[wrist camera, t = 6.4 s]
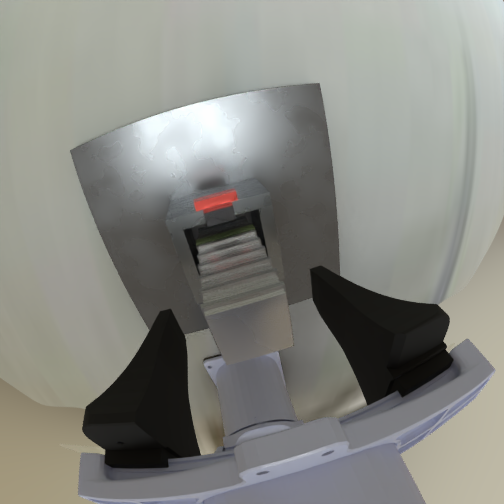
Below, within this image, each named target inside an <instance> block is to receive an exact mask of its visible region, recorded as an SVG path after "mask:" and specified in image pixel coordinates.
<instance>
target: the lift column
mask: <svg viewBox="0 0 504 504" xmlns="http://www.w3.org/2000/svg"><path fill="white" fill-rule="evenodd" d="M196 246H197V250H198V253H199V254H197V257H198V260H199V263H200V264H198V269H199V272H200V274H201V275H200V276H198V277H199V281H200V284H201V287H202V289H199V292H200V295H201V298H202V300H203V303H204V304H200V305H201V310H202V313H203V315H204V317H205V320H206V322H207V324H208V327H209V329H210V331H211V333H212V336H213V338H214V340H215V342H216V345H217V347H218V349H219V351H220V353H221V355H222V358H223V360H224V361H225V363H226V365H230V364H234V363H238V362H242V361H245V360H249V359H253V358H256V357H260V356H263V355H266V354H270V353H273V352H276V351H280V350H283V349H286V348H289V347H292V346H294V342H293V341H294V338H293V332H292V325H291V319H290V312H289V306H288V300H287V294H286V288H285V284H284V282H283V281H281V282H280V281H279V276H278V271H277V269H276V268H273V266H272V261H271V258H270V256H267V254H266V249H265V247H264V246H262V245H261V240H260V238H259V237H258V238H257V233H256V230H255V227H254V226H253V224H252V223H249V222H248V220H247V218H246V216H245V215H244V216H240V217H237V218H236V219H234V220H231V221H227V222H224V223H220V224H216V225H213V226H209V227H207V226H205V227H201V228H198V238H196Z"/></svg>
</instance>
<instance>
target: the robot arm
mask: <svg viewBox="0 0 504 504" xmlns="http://www.w3.org/2000/svg"><path fill="white" fill-rule="evenodd" d="M310 276H311V286H312V297H313V301H314V303H315V305H316V308H317V310H318V312H319V314H320V315H321V317H322V319H323V320H324V322H325V323H326V325H327V326H328V328H329V329H330V331H331V332H332V334H333V335H334V337H335V338H336V340H337V341H338V343H339V344H340V346H341V347H342V349H343V351H344V353H345V355H346V357H347V359H348V361H349V363H350V365H351V367H352V369H353V371H354V374H355V376H356V378H357V380H358V383H359V385H360V387H361V390H362V392H363V395H364V397H365V400H366V403H367V405H368V406H366V407H364V408H362V409H360V410H357V411H355V412H353V413H351V414H348V415H346V416H343V417H341V418H339V419H337V418H334V417H324V418H321V419H317V420H313V421H310V422H307V423H305V424H304V423H303V420H299V421H298V419H297V416H296V414H295V411H294V408H293V406H292V403H291V400H290V397H289V395H288V392H287V389H286V384H285V379H284V375H283V370H282V366H281V361H280V357H279V352H278V351H276V352H273V353H270V354H266V355H263V356H260V357H256V358H253V359H249V360H245V361H242V362H238V363H234V364H230V365H226V363H225V361H224V360H223V358H222V356H218V357H214V358H210V359H206V360H205V361H204V366H205V368H206V370H207V372H208V373H209V375H210V377H211V379H212V380H213V382H214V384H215V385H216V387H217V389H218V396H219V402H220V408H221V414H222V420H223V425H224V431H225V437H223V442H224V446H221V447H218V448H217V450H216V451H215V452H214V454H208V455H201V454H200V450H199V447H198V443H197V439H196V435H195V430H194V426H193V421H192V415H191V410H190V403H189V397H188V361H187V346H186V339H185V335H184V333H183V331H182V330H181V328H180V326H179V324H178V322H177V320H176V318H175V316H174V314H173V312H172V310H171V309H167V310H163V311H160V312H159V314H158V316H157V317H156V319H155V321H154V323H153V325H152V327H151V329H150V331H149V333H148V335H147V336H146V338H145V340H144V342H143V343H142V345H141V347H140V348H139V350H138V352H137V353H136V355H135V357H134V358H133V359H132V361H131V362H130V364H129V365H128V366H127V368H126V369H125V370H124V371H123V373H122V374H121V375H120V376H119V377H118V378H117V380H116V381H115V382H114V383H113V384H112V385H111V386H110V387H109V388H108V389H107V390H106V391H105V392H104V393H103V394H101V395H100V396H99V397H98V398H97V399H95V400H94V401H93V402H92V403H90V404H89V405H88V406H86V409H85V415H84V421H83V427H82V430H83V432H84V434H85V435H86V436H87V437H88V438H89V439H90V440H92V441H93V442H94V443H96V444H98V445H99V446H100V447H102V448H103V449H105V455H102V454H97V453H81V458H80V469H79V486H78V487H79V488H78V495H79V496H80V497H82V498H85V499H87V500H90V501H92V502H95V503H98V504H426V503H425V501H424V499H423V497H422V495H421V493H420V491H419V489H418V487H417V485H416V484H415V482H414V480H413V478H412V476H411V474H410V472H409V470H408V468H407V466H406V465H405V463H404V461H403V459H402V457H401V455H400V454H401V453H403V452H405V451H406V450H408V449H409V448H411V447H412V446H414V445H415V444H417V443H418V442H420V441H421V440H423V439H424V438H426V437H427V436H428V435H430V434H431V433H433V432H434V431H435V430H437V429H438V428H439V427H441V426H442V425H443V424H444V423H446V422H447V421H448V420H449V419H451V418H452V417H453V416H455V415H456V414H457V413H458V412H459V411H461V410H462V409H463V408H464V407H465V406H467V405H468V404H469V403H470V402H471V401H472V400H474V399H475V398H476V397H477V395H478V394H479V393H480V392H481V390H482V389H483V388H484V386H485V385H486V384H487V382H488V381H489V380H490V378H491V377H492V375H493V374H494V373H495V368H494V367H493V366H492V365H491V364H490V363H489V361H488V360H487V359H486V358H485V357H484V356H483V355H482V353H480V351H479V350H478V349H477V348H476V347H475V346H474V345H473V343H472V342H470V340H469V339H466V340H464V341H463V342H462V343H460V344H459V345H457V346H456V347H455V348H453V349H452V350H451V351H450V353H448V352H447V351H446V350H445V349H446V348H447V345H446V344H445V343H444V342H443V340H444V337H445V335H446V332H447V329H448V326H449V322H450V321H449V320H450V318H449V316H448V315H447V314H446V313H445V312H444V311H443V310H442V309H441V308H440V307H439V306H438V305H437V304H426V303H416V302H409V301H404V300H399V299H395V298H391V297H388V296H384V295H381V294H378V293H376V292H373V291H370V290H368V289H365V288H363V287H361V286H359V285H356V284H354V283H352V282H350V281H348V280H347V279H345V278H343V277H341V276H339V275H337V274H336V273H334V272H332V271H330V270H328V269H327V268H325V267H323V266H321V265H320V266H317V267H314V268H311V269H310Z"/></svg>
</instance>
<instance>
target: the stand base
mask: <svg viewBox="0 0 504 504" xmlns="http://www.w3.org/2000/svg"><path fill="white" fill-rule="evenodd" d="M70 152H71V155H72V159H73V162H74V165H75V168H76V171H77V174H78V177H79V180H80V183H81V186H82V189H83V192H84V195H85V197H86V200H87V203H88V205H89V208H90V210H91V213H92V215H93V218H94V220H95V223H96V225H97V228H98V230H99V232H100V235H101V237H102V239H103V242H104V244H105V246H106V248H107V250H108V253H109V255H110V257H111V259H112V261H113V263H114V265H115V267H116V269H117V271H118V274H119V276H120V277H121V279H122V281H123V283H124V285H125V287H126V289H127V291H128V293H129V295H130V297H131V299H132V300H133V302H134V304H135V306H136V308H137V309H138V311H139V313H140V315H141V316H142V318H143V320H144V322H145V323H146V325H147V327H148V328H149V330H150V329H151V327H152V325H153V323H154V321H155V319H156V317H157V316H158V314H159V312H160V311H163V310H167V309H171V310H172V312H173V314H174V316H175V318H176V320H177V322H178V324H179V326H180V328H181V330H182V331H183V333H184V334H188V333H192V332H196V331H200V330H204V329H207V328H209V327H208V324H207V322H206V320H205V317H204V315H203V313H202V310H201V305H200V304H204V303H203V300H202V298H201V295H200V292H199V289H202V287H201V284H200V281H199V277H198V276H200V275H201V274H200V272H199V269H198V264H200V263H199V260H198V257H197V254H199V253H198V250H197V246H196V238H198V228H201V227H205V226H207V227H209V226H213V225H216V224H220V223H224V222H227V221H231V220H234V219H236V218H237V217H240V216H244V215H245V216H246V218H247V220H248V222H249V223H252V224H253V226H254V227H255V230H256V233H257V238H258V237H259V238H260V240H261V245H262V246H264V247H265V249H266V254H267V256H270V258H271V261H272V266H273V268H276V269H277V271H278V276H279V281H280V282H281V281H283V282H284V284H285V288H286V294H287V300H288V305H291V304H294V303H297V302H300V301H303V300H306V299H309V298H312V286H311V276H310V269H311V268H314V267H317V266H320V265H321V266H323V267H325V268H327V269H328V270H330V271H332V272H334V273H336V274H337V275H339V276H340V264H339V239H338V222H337V209H336V197H335V186H334V176H333V167H332V159H331V151H330V143H329V136H328V129H327V123H326V117H325V111H324V105H323V99H322V94H321V88H320V83H316V84H304V85H294V86H285V87H277V88H270V89H263V90H257V91H251V92H246V93H240V94H235V95H230V96H225V97H221V98H216V99H212V100H208V101H204V102H200V103H196V104H192V105H188V106H185V107H181V108H178V109H174V110H171V111H168V112H164V113H161V114H158V115H155V116H152V117H149V118H146V119H143V120H141V121H138V122H135V123H132V124H130V125H127V126H124V127H122V128H119V129H117V130H114V131H112V132H109V133H107V134H105V135H102V136H100V137H98V138H96V139H93V140H91V141H89V142H87V143H85V144H82V145H80V146H78V147H76V148H74V149H72V150H70Z"/></svg>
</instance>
